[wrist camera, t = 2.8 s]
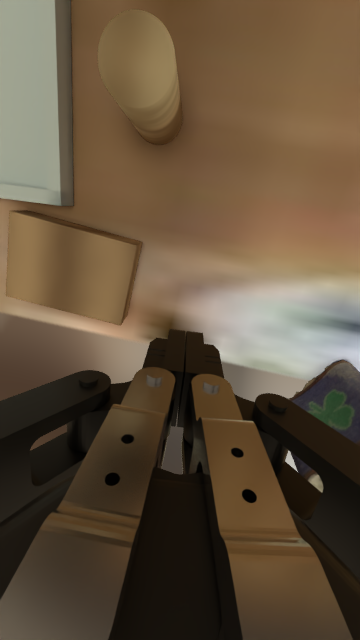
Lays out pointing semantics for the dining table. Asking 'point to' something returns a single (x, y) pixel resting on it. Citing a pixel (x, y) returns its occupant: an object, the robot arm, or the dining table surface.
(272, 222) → the dining table surface
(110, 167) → the dining table surface
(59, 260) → the tan flat block
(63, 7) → the tray
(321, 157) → the dining table surface
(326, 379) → the flask
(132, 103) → the tan cylinder
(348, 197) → the dining table surface
